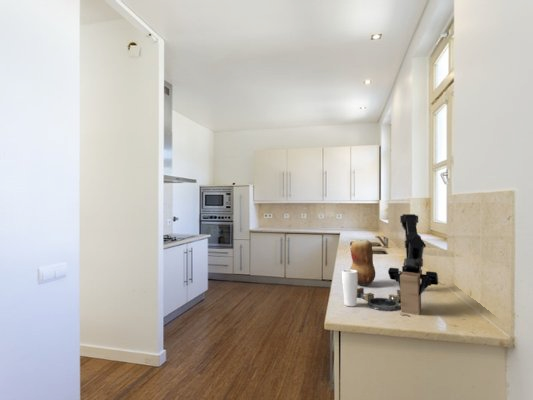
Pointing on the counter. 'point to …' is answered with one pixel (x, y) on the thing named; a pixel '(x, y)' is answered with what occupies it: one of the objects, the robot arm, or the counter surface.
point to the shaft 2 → (396, 296)
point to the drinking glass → (350, 287)
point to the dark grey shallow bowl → (383, 304)
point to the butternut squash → (363, 261)
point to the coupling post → (410, 293)
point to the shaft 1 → (365, 296)
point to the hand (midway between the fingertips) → (410, 293)
